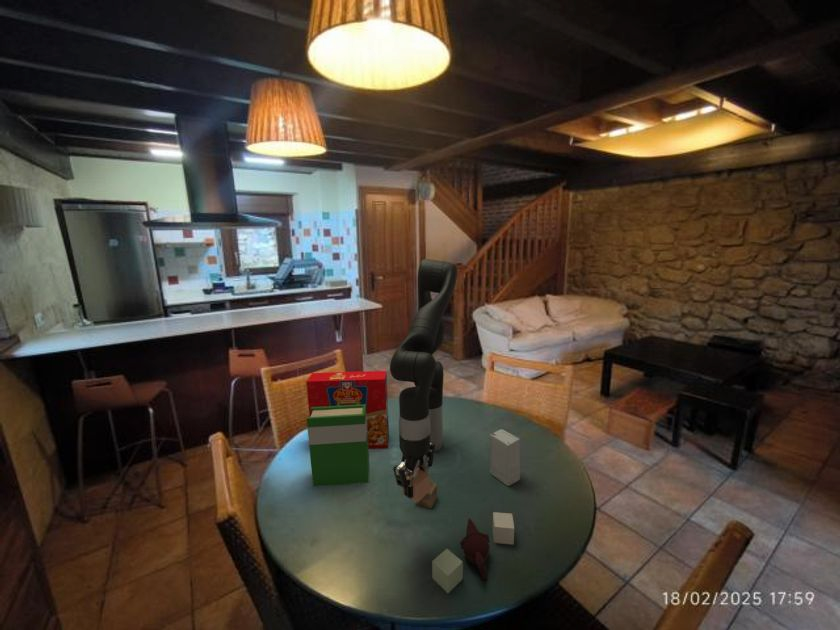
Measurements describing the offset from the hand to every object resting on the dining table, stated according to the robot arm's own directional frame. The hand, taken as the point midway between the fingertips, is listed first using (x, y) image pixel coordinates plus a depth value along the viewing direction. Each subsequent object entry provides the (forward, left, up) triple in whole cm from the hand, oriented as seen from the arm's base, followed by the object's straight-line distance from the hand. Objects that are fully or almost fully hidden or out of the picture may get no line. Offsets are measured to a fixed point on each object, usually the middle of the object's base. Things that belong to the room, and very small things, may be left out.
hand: (415, 490), depth 91 cm
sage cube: (+12, -4, -16) cm, 20 cm away
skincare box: (+7, +37, -16) cm, 41 cm away
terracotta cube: (0, 0, -1) cm, 1 cm away
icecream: (+14, +5, -16) cm, 22 cm away
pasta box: (-48, +20, -16) cm, 54 cm away
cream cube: (+17, +15, -16) cm, 28 cm away
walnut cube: (-7, +13, -16) cm, 21 cm away
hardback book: (-36, +5, -16) cm, 39 cm away
